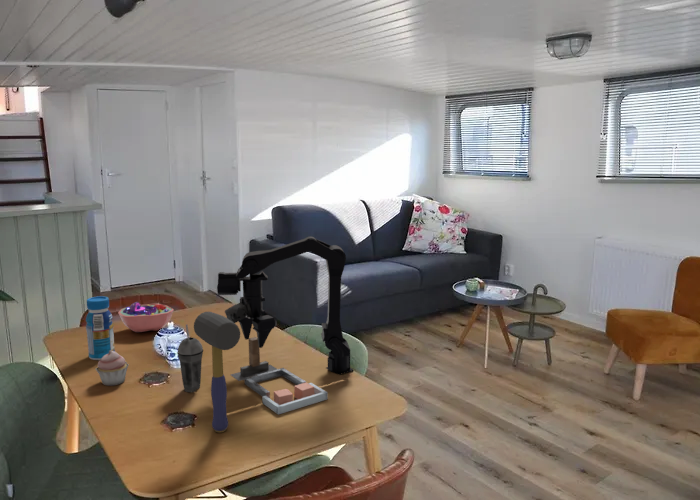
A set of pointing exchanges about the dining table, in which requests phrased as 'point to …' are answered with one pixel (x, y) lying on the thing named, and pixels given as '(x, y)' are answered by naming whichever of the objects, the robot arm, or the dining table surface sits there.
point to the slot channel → (253, 380)
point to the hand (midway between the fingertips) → (253, 343)
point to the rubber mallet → (217, 359)
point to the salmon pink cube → (303, 390)
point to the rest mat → (239, 377)
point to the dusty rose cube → (283, 396)
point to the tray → (296, 401)
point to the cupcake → (112, 368)
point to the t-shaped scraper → (254, 360)
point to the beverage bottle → (99, 327)
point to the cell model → (145, 316)
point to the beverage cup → (190, 362)
